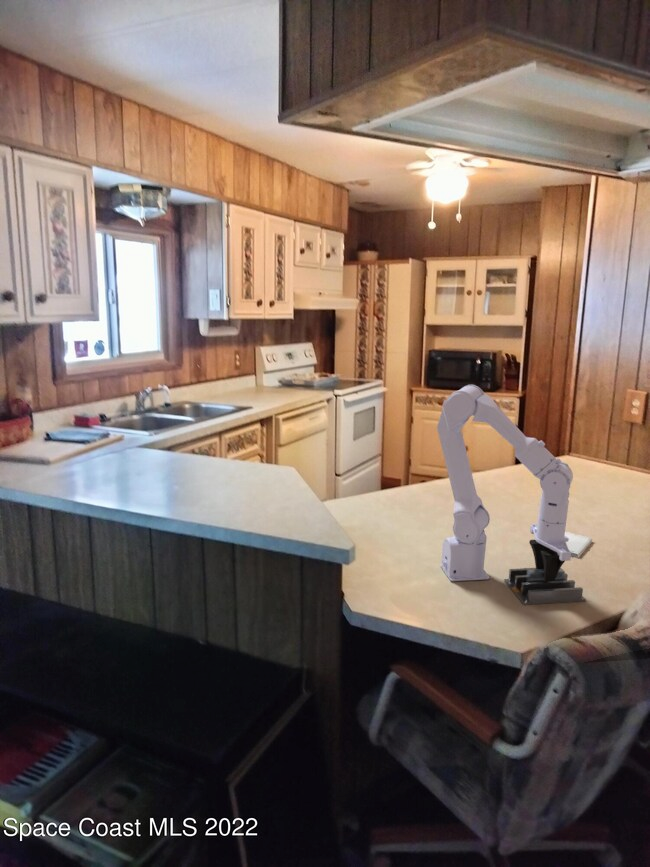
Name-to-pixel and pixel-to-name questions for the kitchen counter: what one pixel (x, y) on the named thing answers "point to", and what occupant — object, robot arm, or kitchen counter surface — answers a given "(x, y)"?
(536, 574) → the panel
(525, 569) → the slot rack
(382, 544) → the kitchen counter surface
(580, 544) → the hard drive
